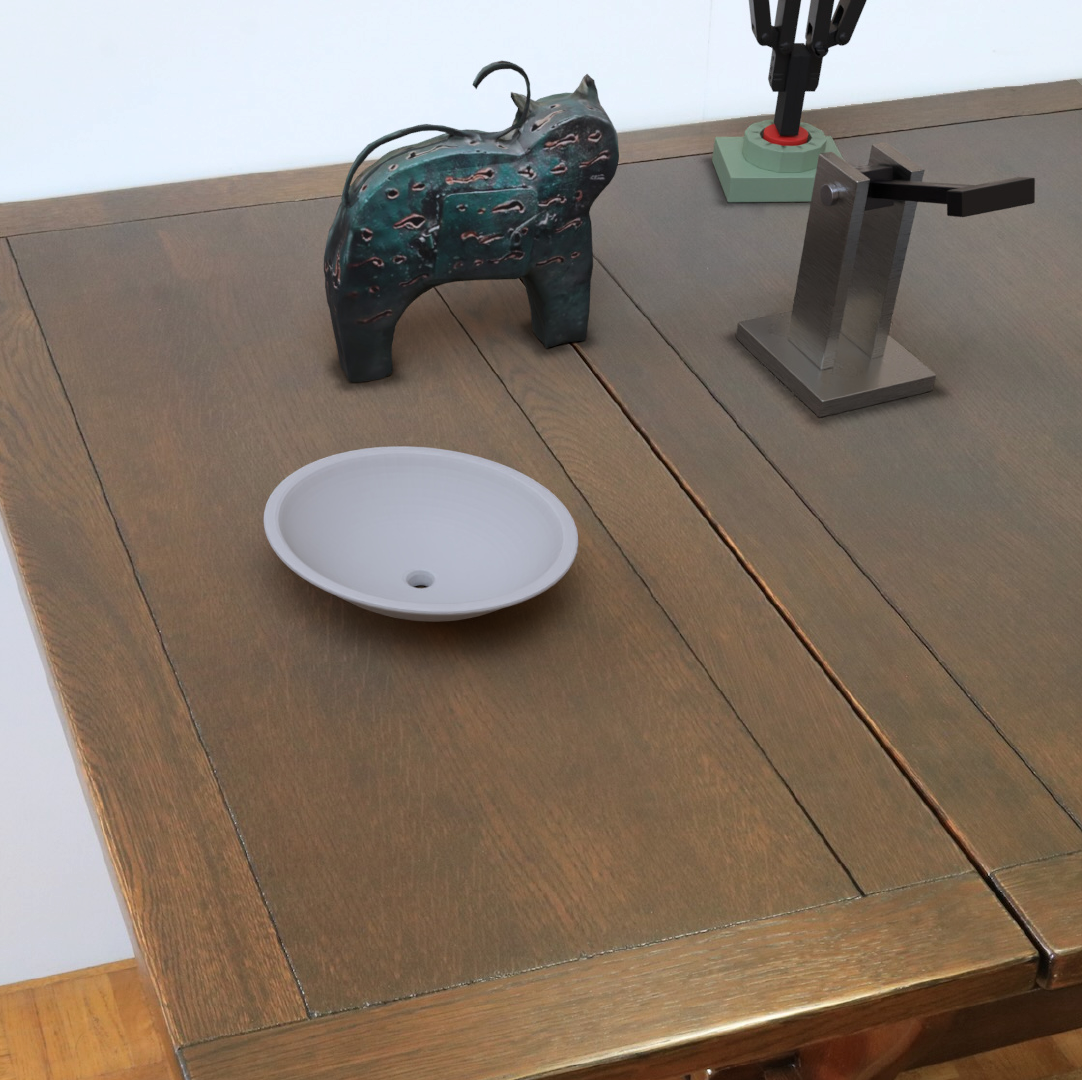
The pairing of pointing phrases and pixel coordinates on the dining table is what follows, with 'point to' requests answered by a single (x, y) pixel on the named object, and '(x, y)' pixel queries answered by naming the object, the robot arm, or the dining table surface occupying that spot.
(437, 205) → the ceramic cat
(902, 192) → the lever
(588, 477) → the dining table surface
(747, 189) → the button box
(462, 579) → the white oval sink basin
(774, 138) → the button
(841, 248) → the bracket
